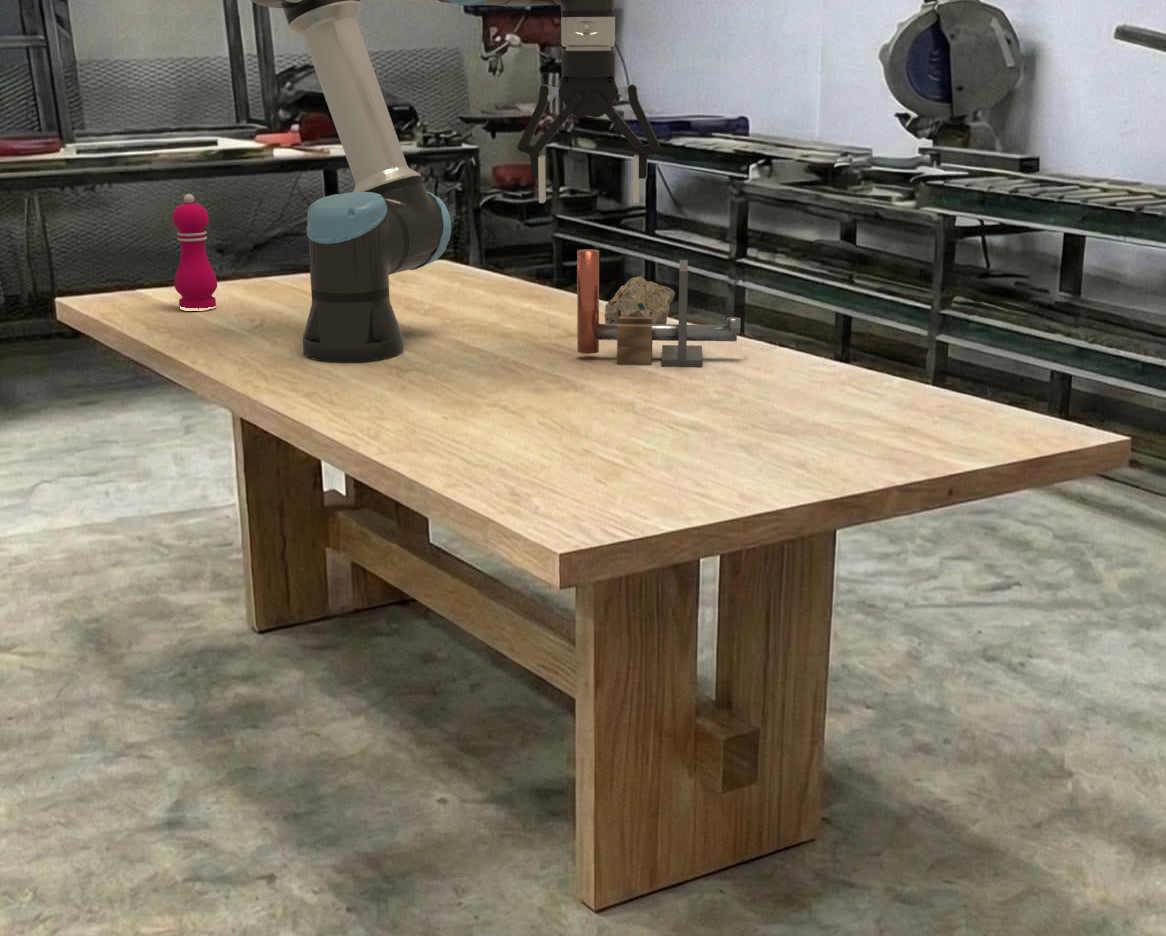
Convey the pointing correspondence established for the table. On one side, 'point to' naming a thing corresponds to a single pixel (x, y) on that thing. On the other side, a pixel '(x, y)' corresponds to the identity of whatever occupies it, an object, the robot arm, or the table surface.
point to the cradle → (634, 340)
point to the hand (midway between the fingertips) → (589, 202)
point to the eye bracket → (682, 332)
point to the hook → (593, 331)
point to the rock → (640, 301)
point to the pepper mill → (193, 257)
